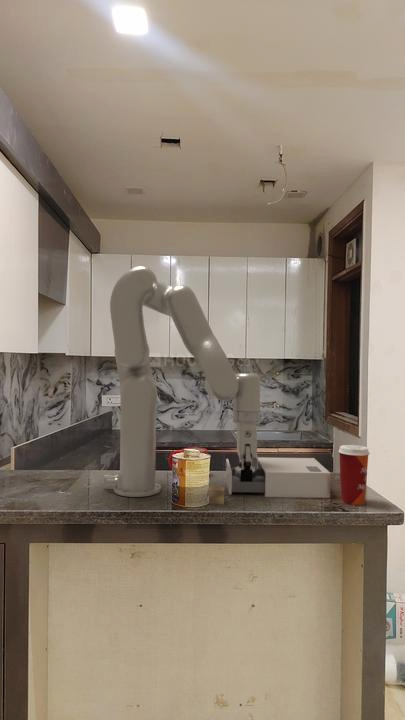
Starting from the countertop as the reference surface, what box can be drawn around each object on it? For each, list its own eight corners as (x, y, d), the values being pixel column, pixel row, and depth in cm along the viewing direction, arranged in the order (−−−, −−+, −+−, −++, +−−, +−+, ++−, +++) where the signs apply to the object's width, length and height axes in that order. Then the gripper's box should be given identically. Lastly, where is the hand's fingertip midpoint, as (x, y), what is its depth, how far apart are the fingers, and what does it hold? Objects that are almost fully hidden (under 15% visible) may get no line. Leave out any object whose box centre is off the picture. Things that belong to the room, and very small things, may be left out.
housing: (265, 496, 123) (265, 471, 123) (257, 479, 141) (257, 456, 141) (330, 497, 123) (330, 472, 123) (313, 479, 141) (313, 457, 141)
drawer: (227, 494, 124) (228, 471, 124) (224, 478, 140) (224, 458, 140) (292, 495, 124) (292, 472, 124) (281, 479, 140) (282, 459, 140)
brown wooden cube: (209, 504, 116) (209, 490, 116) (209, 500, 120) (209, 486, 120) (223, 504, 116) (224, 490, 116) (223, 500, 120) (223, 486, 120)
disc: (257, 478, 129) (257, 471, 129) (235, 478, 129) (235, 471, 129) (255, 473, 135) (255, 466, 135) (234, 472, 135) (234, 465, 135)
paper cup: (371, 507, 115) (372, 450, 115) (338, 505, 117) (339, 449, 117) (366, 498, 123) (367, 445, 123) (336, 496, 125) (337, 443, 125)
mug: (170, 471, 149) (170, 446, 149) (207, 472, 148) (208, 447, 148) (166, 477, 141) (166, 451, 141) (205, 478, 140) (206, 452, 140)
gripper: (263, 421, 123) (262, 490, 123) (255, 413, 140) (255, 473, 140) (235, 421, 123) (234, 489, 123) (230, 413, 140) (230, 473, 140)
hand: (245, 480), depth 132 cm, fingers closed on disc, 5 cm apart
